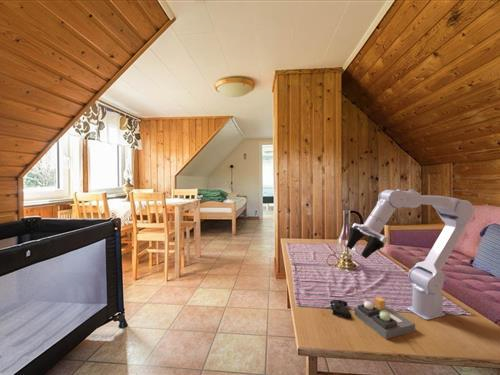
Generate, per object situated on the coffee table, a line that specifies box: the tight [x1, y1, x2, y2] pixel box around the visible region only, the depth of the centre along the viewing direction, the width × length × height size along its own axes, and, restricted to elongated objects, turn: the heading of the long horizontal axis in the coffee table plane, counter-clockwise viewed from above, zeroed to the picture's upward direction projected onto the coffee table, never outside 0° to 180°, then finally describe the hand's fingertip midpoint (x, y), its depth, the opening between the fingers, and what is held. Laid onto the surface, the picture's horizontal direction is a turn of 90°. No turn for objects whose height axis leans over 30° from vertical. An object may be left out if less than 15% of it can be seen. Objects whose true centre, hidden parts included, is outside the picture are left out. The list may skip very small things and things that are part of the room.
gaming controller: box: [329, 299, 353, 320], centre depth 93 cm, size 10×5×6 cm
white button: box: [363, 300, 374, 311], centre depth 88 cm, size 3×3×2 cm
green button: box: [380, 312, 390, 322], centre depth 81 cm, size 3×3×2 cm
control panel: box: [354, 303, 416, 340], centre depth 86 cm, size 12×14×4 cm
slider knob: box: [374, 296, 386, 309], centre depth 90 cm, size 2×2×3 cm
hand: (355, 252), depth 86 cm, fingers open, 7 cm apart
